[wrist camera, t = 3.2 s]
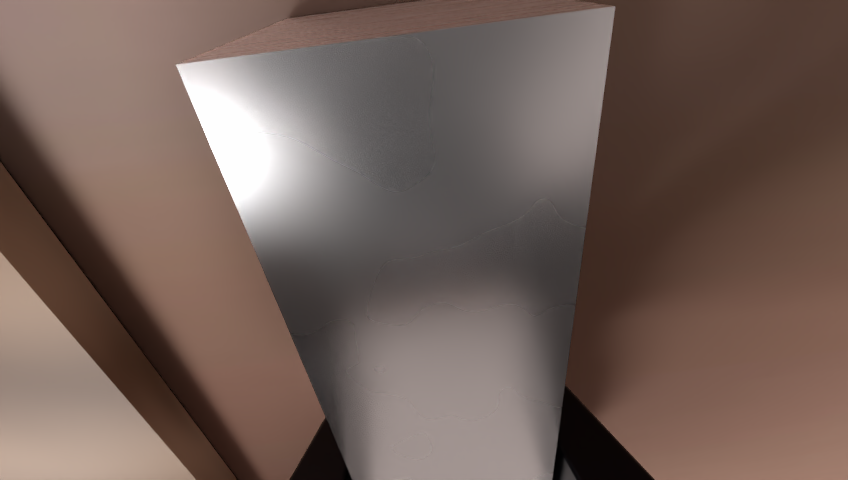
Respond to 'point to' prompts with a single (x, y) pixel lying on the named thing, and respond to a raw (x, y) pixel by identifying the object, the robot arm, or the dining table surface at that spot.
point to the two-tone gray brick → (420, 216)
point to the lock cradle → (79, 373)
